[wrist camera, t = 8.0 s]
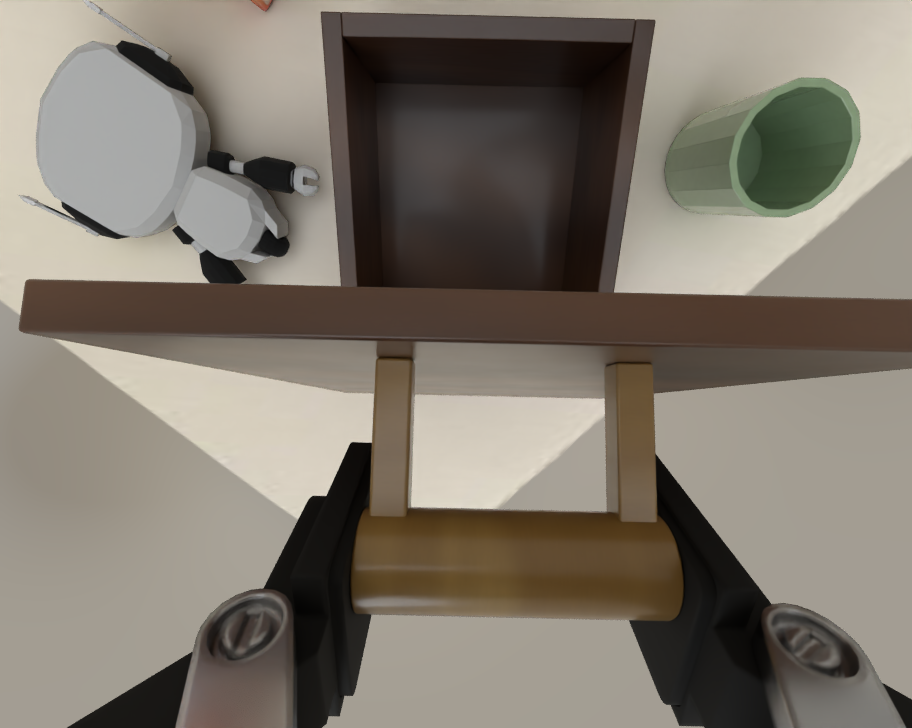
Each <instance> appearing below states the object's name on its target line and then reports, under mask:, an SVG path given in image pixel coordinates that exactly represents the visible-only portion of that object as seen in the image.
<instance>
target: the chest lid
mask: <svg viewBox="0 0 912 728" xmlns="http://www.w3.org/2000/svg"><path fill="white" fill-rule="evenodd" d="M19 330H20V331H21V332H23V333H28V334H33V335H38V336H43V337H49V338H54V339H60V340H65V341H70V342H76V343H81V344H86V345H92V346H97V347H103V348H108V349H113V350H119V351H124V352H130V353H135V354H140V355H146V356H151V357H157V358H162V359H167V360H173V361H178V362H184V363H189V364H194V365H200V366H205V367H210V368H216V369H221V370H227V371H232V372H237V373H243V374H248V375H254V376H259V377H264V378H270V379H275V380H281V381H286V382H291V383H297V384H302V385H307V386H313V387H318V388H324V389H329V390H334V391H340V392H345V393H374V408H373V431H372V453H371V476H370V498H369V506H368V507H366V508H365V509H364V510H363V512H362V514H361V516H360V519H359V522H358V526H357V530H356V534H355V539H354V545H353V552H352V561H351V574H350V595H351V604H352V608H353V611H354V612H355V613H356V614H371V615H416V616H461V617H506V618H552V619H596V620H597V619H598V620H599V619H600V620H641V621H671V620H673V619H675V618H676V617H677V616H678V614H679V613H680V610H681V608H682V604H683V598H684V575H683V567H682V562H681V558H680V554H679V550H678V547H677V544H676V541H675V539H674V537H673V534H672V532H671V530H670V529H669V527H668V525H667V524H666V523H665V521H664V520H663V519H662V518H661V517H660V516H658V515H657V490H656V457H655V425H654V393H663V392H672V391H684V390H694V389H704V388H714V387H725V386H734V385H744V384H745V385H746V384H756V383H766V382H776V381H786V380H797V379H807V378H818V377H828V376H837V375H848V374H858V373H869V372H879V371H890V370H900V369H909V368H912V299H873V298H872V299H871V298H829V297H785V296H742V295H698V294H654V293H611V292H567V291H523V290H479V289H436V288H392V287H348V286H305V285H261V284H217V283H174V282H130V281H86V280H42V279H29V280H26V282H25V287H24V294H23V301H22V308H21V315H20V322H19ZM415 394H423V395H467V396H511V397H555V398H599V399H601V398H605V432H606V433H605V438H606V492H607V493H606V494H607V512H598V511H554V510H509V509H505V510H504V509H465V508H421V507H411V486H412V456H413V426H414V397H415Z"/></svg>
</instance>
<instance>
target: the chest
mask: <svg viewBox="0 0 912 728" xmlns="http://www.w3.org/2000/svg"><path fill="white" fill-rule="evenodd" d="M321 23H322V36H323V49H324V63H325V76H326V89H327V103H328V116H329V130H330V143H331V156H332V170H333V183H334V197H335V210H336V223H337V237H338V250H339V264H340V277H341V286H348V287H392V288H436V289H479V290H523V291H567V292H611V293H614V286H615V280H616V274H617V267H618V261H619V254H620V248H621V241H622V235H623V228H624V222H625V215H626V209H627V202H628V196H629V189H630V183H631V176H632V170H633V163H634V157H635V150H636V144H637V137H638V131H639V125H640V118H641V112H642V105H643V99H644V92H645V86H646V79H647V73H648V66H649V60H650V53H651V47H652V40H653V34H654V27H655V20H643V19H637V20H635V19H609V18H566V17H523V16H481V15H438V14H395V13H353V12H342V13H341V12H321Z"/></svg>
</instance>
